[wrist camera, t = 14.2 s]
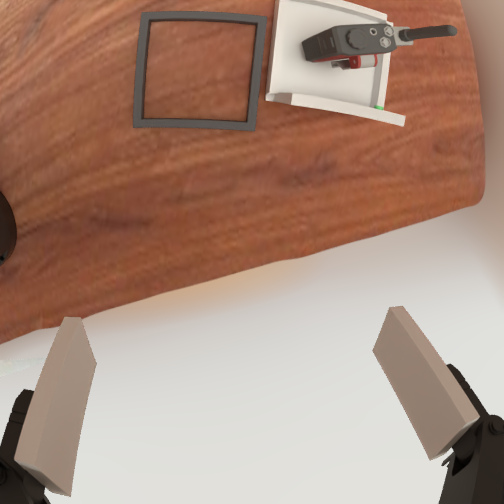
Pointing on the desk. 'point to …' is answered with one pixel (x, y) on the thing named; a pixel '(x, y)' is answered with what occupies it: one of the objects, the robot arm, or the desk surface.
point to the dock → (321, 73)
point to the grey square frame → (198, 16)
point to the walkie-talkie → (364, 43)
